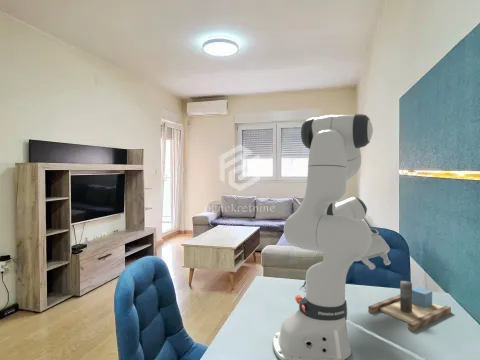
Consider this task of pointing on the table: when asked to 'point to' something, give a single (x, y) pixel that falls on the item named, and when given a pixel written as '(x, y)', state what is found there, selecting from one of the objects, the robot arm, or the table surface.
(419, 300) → the cube
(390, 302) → the track
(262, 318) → the table surface
